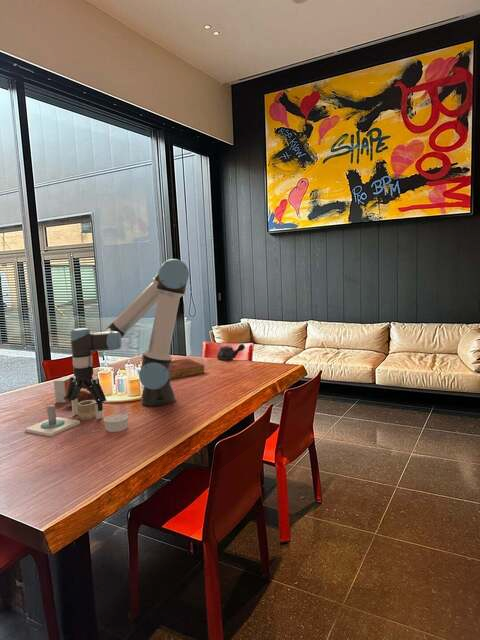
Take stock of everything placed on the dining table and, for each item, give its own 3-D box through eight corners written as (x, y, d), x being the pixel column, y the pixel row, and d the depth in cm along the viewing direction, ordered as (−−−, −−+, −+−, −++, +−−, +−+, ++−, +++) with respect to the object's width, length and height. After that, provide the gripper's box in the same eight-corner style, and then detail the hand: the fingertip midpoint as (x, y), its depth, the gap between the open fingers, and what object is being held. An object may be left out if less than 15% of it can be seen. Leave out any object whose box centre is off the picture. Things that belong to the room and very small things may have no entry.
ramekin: (109, 424, 168) (108, 414, 168) (131, 424, 168) (130, 413, 167) (101, 433, 159) (100, 422, 159) (124, 432, 159) (123, 421, 158)
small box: (66, 403, 198) (64, 380, 197) (55, 402, 199) (53, 380, 198) (76, 397, 206) (74, 376, 205) (65, 397, 207) (63, 376, 206)
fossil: (101, 396, 195) (86, 380, 191) (92, 409, 188) (77, 394, 184) (82, 403, 200) (67, 388, 196) (73, 416, 194) (58, 401, 190)
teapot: (214, 361, 271) (213, 346, 270) (219, 356, 286) (218, 341, 285) (243, 361, 268) (242, 346, 267) (247, 356, 283) (246, 341, 282)
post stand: (80, 423, 170) (78, 402, 169) (50, 436, 158) (48, 413, 157) (55, 419, 177) (53, 398, 176) (25, 431, 164) (22, 409, 163)
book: (188, 366, 264) (187, 358, 264) (205, 373, 244) (204, 365, 243) (141, 374, 249) (140, 365, 249) (155, 382, 229) (154, 373, 228)
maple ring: (100, 414, 180) (99, 401, 179) (87, 420, 173) (86, 406, 173) (87, 413, 183) (86, 399, 182) (74, 418, 176) (73, 404, 176)
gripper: (112, 365, 173) (116, 416, 176) (68, 362, 184) (73, 410, 187) (99, 370, 167) (103, 423, 169) (54, 366, 177) (59, 415, 180)
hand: (87, 416), depth 178 cm, fingers open, 12 cm apart
